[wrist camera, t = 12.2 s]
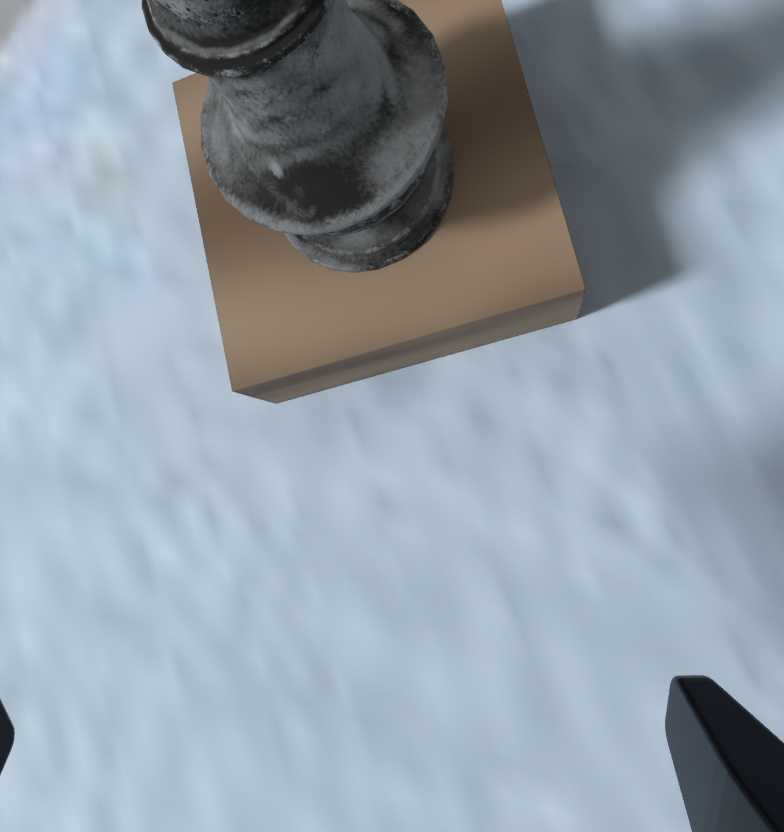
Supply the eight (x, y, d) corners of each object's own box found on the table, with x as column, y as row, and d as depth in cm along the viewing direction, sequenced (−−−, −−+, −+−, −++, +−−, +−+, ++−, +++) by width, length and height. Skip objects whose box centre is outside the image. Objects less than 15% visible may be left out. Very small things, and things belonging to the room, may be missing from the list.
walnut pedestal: (577, 318, 18) (585, 288, 16) (275, 403, 20) (232, 391, 18) (494, 29, 20) (487, -47, 17) (220, 135, 22) (172, 82, 19)
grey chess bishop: (371, 42, 18) (50, -804, 6) (511, 174, 16) (448, -583, 5) (226, 187, 18) (-319, -324, 7) (350, 326, 17) (-60, -9, 5)
